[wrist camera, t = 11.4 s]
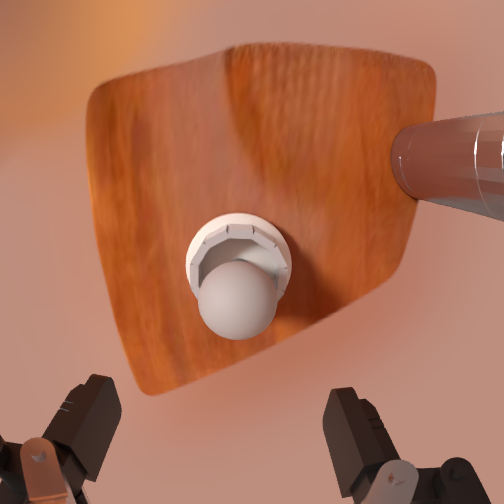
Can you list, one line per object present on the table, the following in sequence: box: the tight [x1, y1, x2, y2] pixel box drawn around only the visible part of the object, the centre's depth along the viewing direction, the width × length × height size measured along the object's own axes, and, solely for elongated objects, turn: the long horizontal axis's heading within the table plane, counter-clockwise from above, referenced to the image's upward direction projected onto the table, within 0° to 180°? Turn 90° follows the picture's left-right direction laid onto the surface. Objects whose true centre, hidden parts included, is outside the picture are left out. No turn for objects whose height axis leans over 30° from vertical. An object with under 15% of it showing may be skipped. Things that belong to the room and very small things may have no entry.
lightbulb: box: [198, 258, 278, 340], centre depth 25 cm, size 6×6×11 cm
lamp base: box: [186, 212, 292, 303], centre depth 29 cm, size 11×11×5 cm
